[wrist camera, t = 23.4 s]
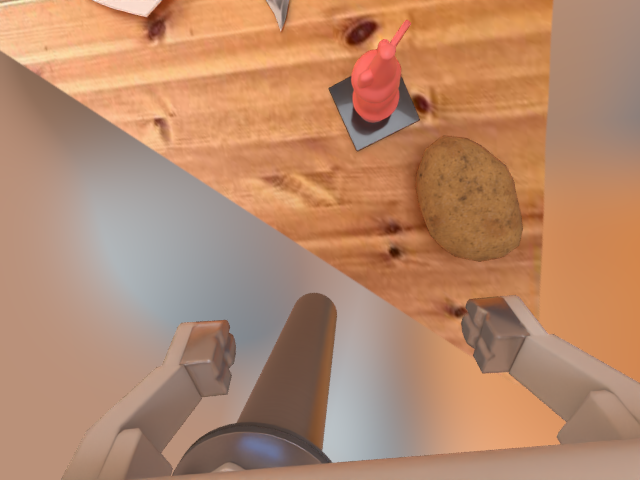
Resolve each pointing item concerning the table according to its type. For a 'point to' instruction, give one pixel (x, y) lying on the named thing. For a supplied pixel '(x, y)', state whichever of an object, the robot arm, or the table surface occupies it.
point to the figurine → (378, 80)
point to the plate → (132, 6)
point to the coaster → (368, 131)
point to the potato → (468, 200)
